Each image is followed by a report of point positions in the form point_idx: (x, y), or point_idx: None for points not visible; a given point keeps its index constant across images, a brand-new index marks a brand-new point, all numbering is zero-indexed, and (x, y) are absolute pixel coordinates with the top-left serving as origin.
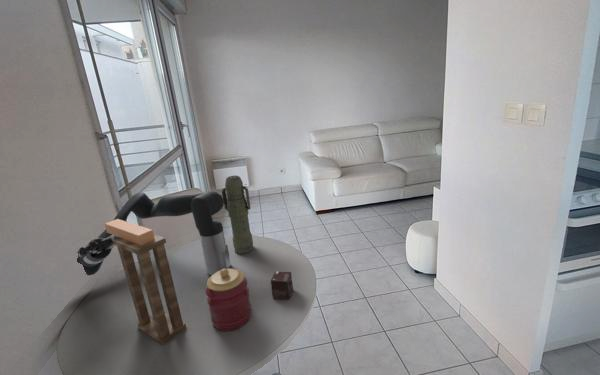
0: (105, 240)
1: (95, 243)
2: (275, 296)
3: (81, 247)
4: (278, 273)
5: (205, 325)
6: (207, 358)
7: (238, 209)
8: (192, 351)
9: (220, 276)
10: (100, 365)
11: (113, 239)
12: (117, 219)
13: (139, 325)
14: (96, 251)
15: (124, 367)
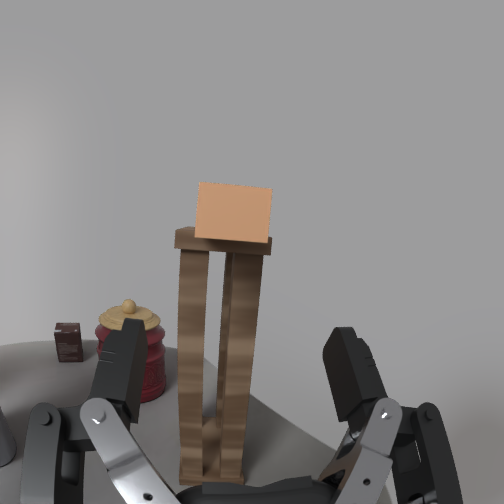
0: (227, 482)
1: (331, 337)
2: (82, 355)
3: (429, 408)
4: (60, 329)
5: (165, 404)
6: (210, 377)
7: None
8: (213, 392)
9: (132, 314)
10: (328, 452)
11: (154, 469)
12: (205, 183)
13: (242, 473)
14: (325, 471)
15: (297, 429)
